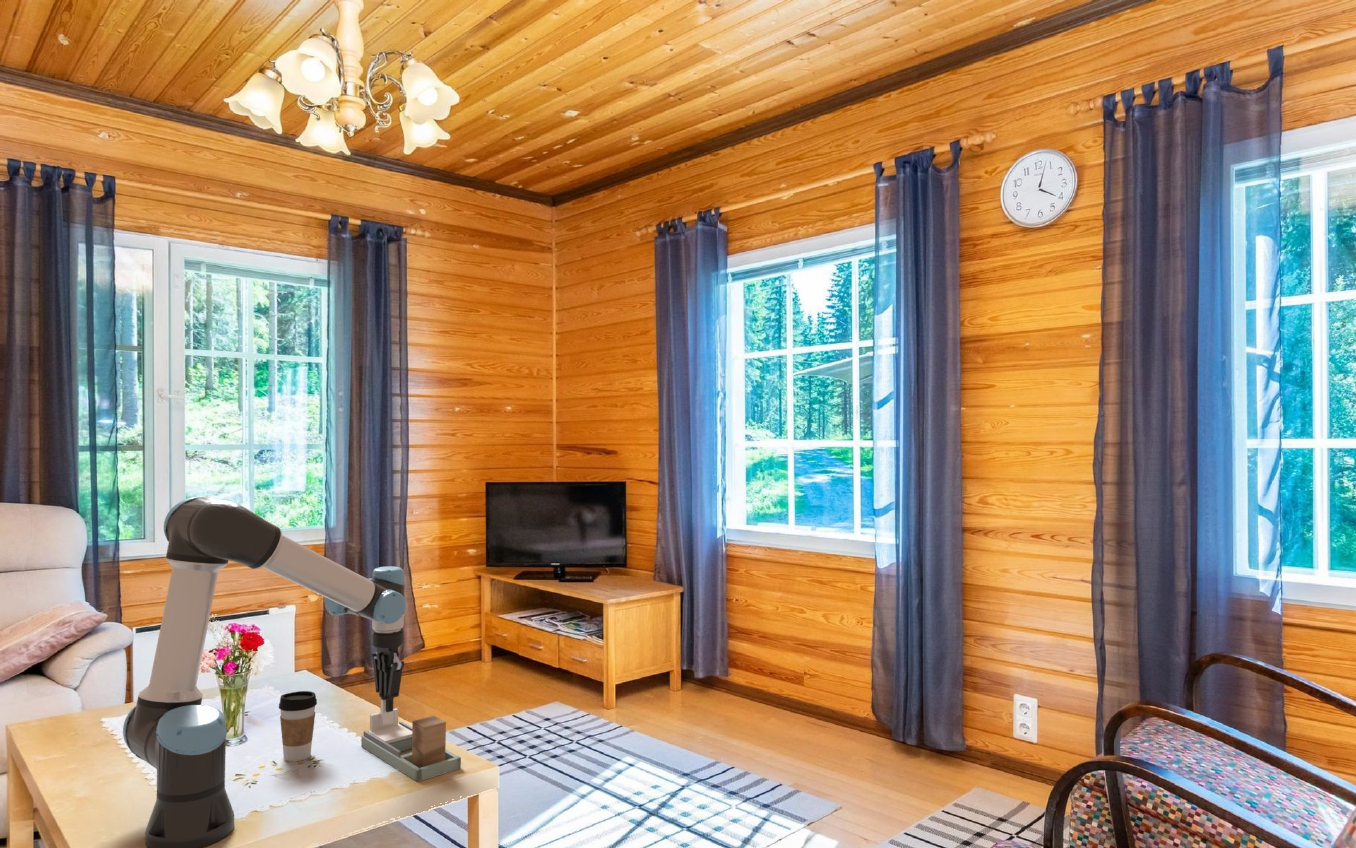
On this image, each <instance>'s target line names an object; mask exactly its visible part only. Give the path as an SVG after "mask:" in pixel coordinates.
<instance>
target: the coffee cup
mask: <svg viewBox="0 0 1356 848" xmlns="http://www.w3.org/2000/svg"><path fill="white" fill-rule="evenodd" d="M279 700H280V701H279V704H278V709H279V710H280V716H279V720H280V730H281V742H282V753H283V760H284V761H287V762H300V761H304V760H306V759H309V758H310V757H311V755H312V745H313V744H312V743H313V737H314V728H315V727H314V726H315V717H316V711H315V709H316V706H317V705H318V700H317V697H316V693H315V692H313V691H310V690H309V691H308V690H302V691H301V690H300V691H294V692H287V693H284V694H281V695H280V699H279Z"/></svg>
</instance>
